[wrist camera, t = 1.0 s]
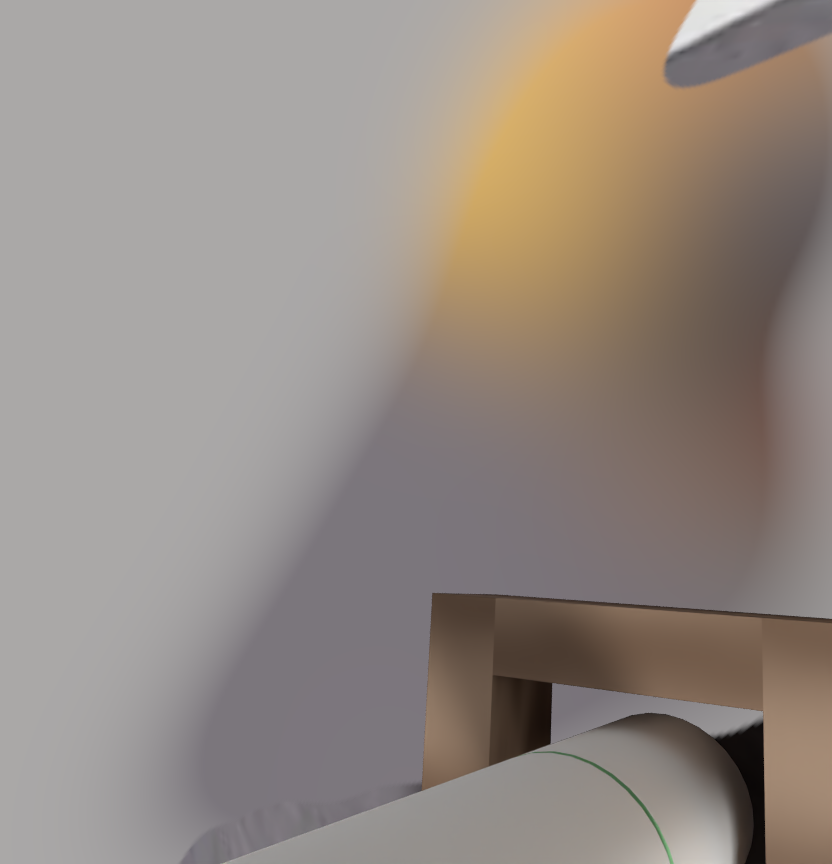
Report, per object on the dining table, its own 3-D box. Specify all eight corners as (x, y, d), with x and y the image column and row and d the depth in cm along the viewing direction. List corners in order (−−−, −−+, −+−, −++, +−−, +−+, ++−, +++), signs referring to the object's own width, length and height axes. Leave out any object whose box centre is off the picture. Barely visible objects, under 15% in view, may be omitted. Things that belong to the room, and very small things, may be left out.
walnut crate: (497, 594, 39) (432, 593, 34) (876, 622, 30) (864, 625, 25) (482, 955, 36) (409, 1011, 31) (895, 1100, 27) (886, 1210, 22)
